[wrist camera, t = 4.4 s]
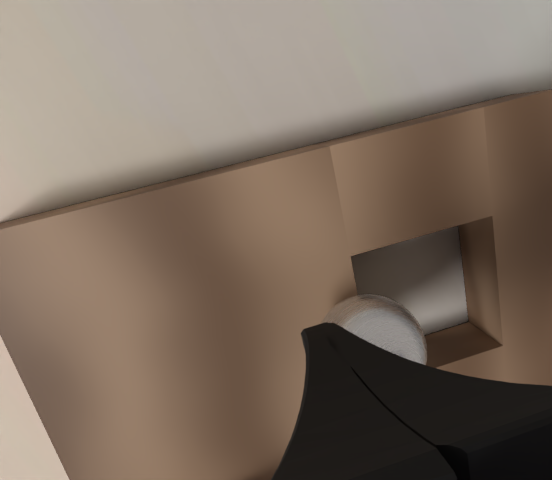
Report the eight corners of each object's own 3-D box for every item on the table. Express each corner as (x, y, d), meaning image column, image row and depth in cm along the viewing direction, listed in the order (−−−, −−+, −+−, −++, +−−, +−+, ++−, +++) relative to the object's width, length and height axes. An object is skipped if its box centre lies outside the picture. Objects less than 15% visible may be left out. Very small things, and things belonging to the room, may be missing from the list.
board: (151, 583, 17) (145, 639, 15) (-8, 225, 13) (-45, 241, 11) (531, 446, 19) (568, 481, 17) (509, 94, 15) (555, 88, 13)
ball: (457, 402, 11) (393, 345, 14) (446, 305, 10) (379, 265, 13) (356, 451, 11) (311, 380, 14) (333, 353, 10) (290, 299, 13)
